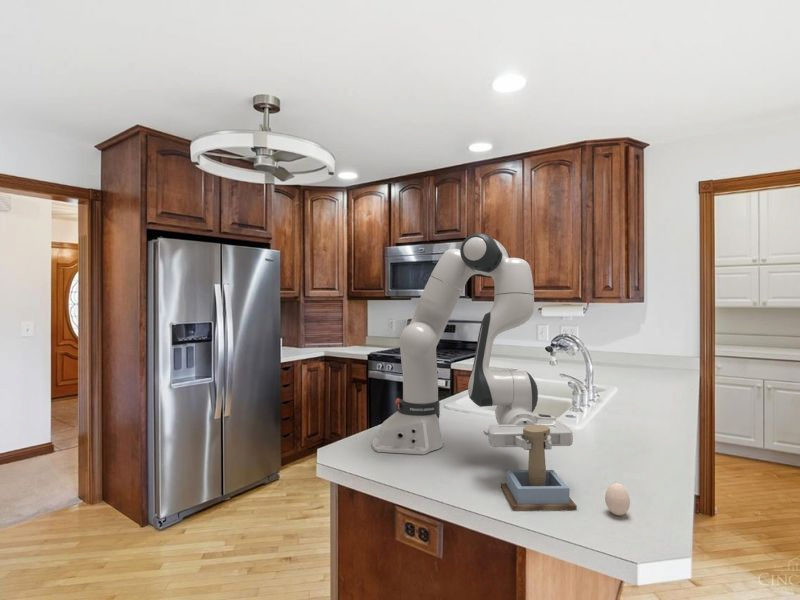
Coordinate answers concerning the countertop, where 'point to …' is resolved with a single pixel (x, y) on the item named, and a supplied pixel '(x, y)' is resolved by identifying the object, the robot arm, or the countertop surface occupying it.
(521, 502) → the square frame
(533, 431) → the handle
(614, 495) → the egg
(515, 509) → the board
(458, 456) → the countertop surface
